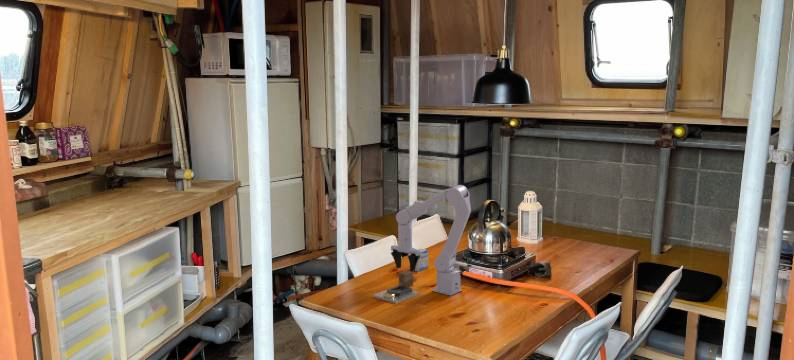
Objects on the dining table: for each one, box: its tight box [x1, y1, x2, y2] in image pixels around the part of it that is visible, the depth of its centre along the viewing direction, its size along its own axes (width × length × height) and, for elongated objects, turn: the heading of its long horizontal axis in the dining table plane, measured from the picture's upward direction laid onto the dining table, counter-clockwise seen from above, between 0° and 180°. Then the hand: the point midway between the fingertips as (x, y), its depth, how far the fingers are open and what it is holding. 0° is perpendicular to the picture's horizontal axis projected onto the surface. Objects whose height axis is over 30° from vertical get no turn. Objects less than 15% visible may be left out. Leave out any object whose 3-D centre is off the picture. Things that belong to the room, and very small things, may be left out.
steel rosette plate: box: [373, 284, 420, 304], centre depth 246 cm, size 12×14×2 cm
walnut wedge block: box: [398, 269, 414, 288], centre depth 258 cm, size 4×5×6 cm
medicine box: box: [414, 248, 429, 273], centre depth 282 cm, size 8×4×9 cm, turn 143°
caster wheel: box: [527, 259, 553, 278], centre depth 271 cm, size 7×11×10 cm
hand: (405, 269), depth 257 cm, fingers open, 7 cm apart
